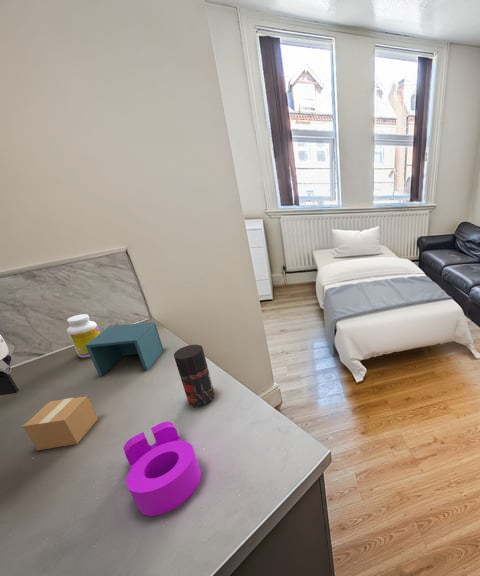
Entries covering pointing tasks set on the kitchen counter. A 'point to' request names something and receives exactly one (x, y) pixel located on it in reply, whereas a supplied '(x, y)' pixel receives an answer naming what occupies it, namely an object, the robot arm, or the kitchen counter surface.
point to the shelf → (125, 345)
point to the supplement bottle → (82, 333)
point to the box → (61, 423)
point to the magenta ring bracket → (161, 470)
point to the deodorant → (194, 375)
